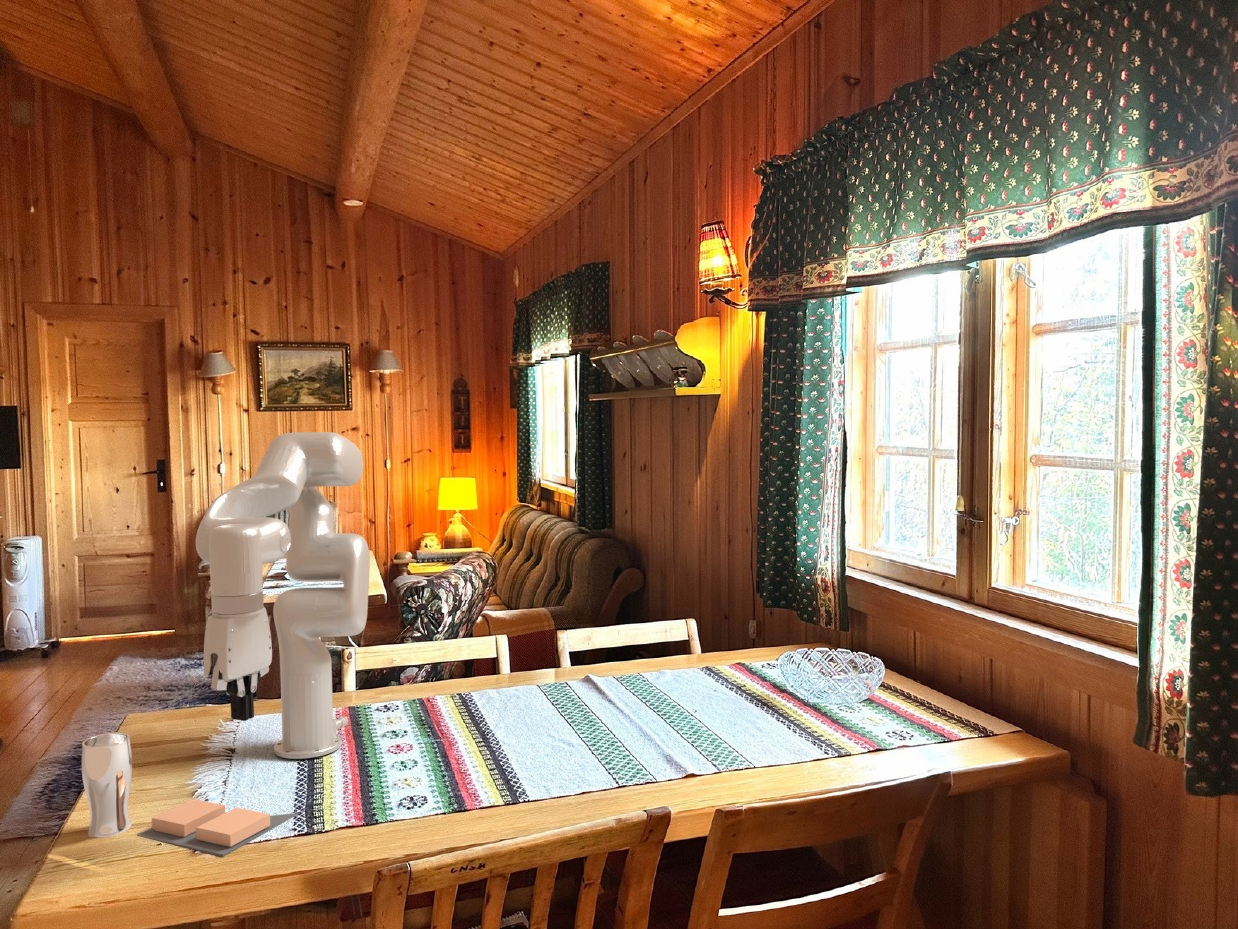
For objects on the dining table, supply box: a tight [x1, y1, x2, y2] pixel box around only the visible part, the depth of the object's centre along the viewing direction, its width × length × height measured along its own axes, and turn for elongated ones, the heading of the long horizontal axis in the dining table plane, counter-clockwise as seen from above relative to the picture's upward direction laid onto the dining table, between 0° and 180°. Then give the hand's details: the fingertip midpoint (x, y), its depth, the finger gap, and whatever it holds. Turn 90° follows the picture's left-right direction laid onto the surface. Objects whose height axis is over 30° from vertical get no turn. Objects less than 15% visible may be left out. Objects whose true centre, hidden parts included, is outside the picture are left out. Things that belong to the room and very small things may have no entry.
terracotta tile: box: [151, 798, 226, 837], centre depth 148 cm, size 2×7×8 cm
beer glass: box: [81, 731, 133, 838], centre depth 146 cm, size 7×7×15 cm
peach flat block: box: [196, 807, 271, 847], centre depth 144 cm, size 2×7×8 cm
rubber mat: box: [137, 812, 300, 858], centre depth 149 cm, size 18×18×1 cm
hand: (242, 718), depth 146 cm, fingers closed
